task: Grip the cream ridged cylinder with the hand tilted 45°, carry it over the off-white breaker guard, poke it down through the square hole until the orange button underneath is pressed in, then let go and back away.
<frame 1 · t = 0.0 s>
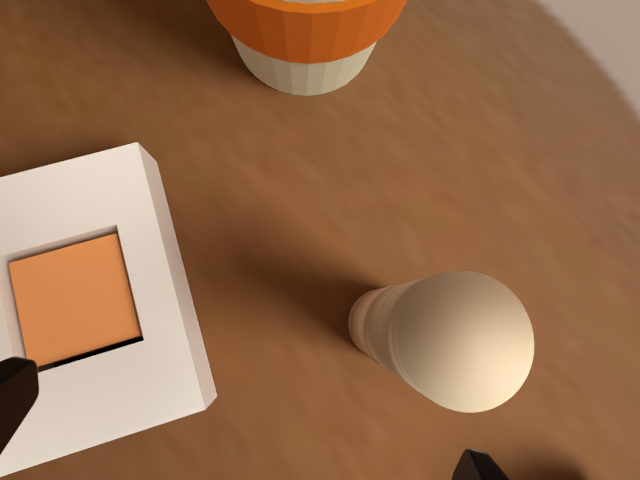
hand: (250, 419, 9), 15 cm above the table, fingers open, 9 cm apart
reusable coffee cup: (304, 33, 27), on the table
cream ridged cylinder: (382, 323, 24), on the table
breaker guard: (97, 300, 23), on the table
breaker button: (81, 299, 21), point 2 cm above the table, slide at 0.0 cm
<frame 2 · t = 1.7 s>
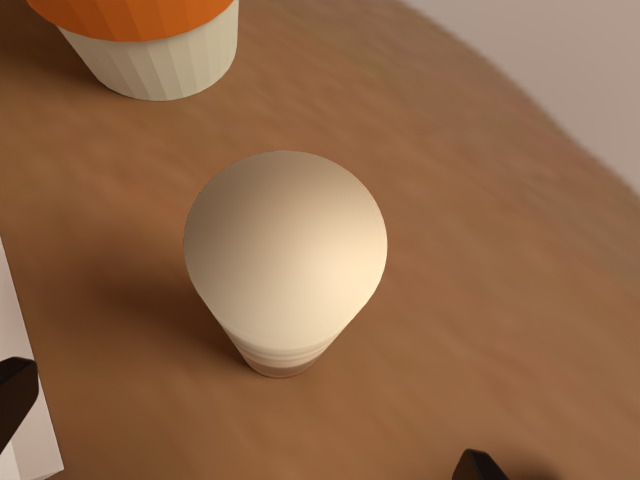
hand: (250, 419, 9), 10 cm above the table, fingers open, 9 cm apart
reusable coffee cup: (162, 44, 25), on the table
cream ridged cylinder: (281, 333, 19), on the table
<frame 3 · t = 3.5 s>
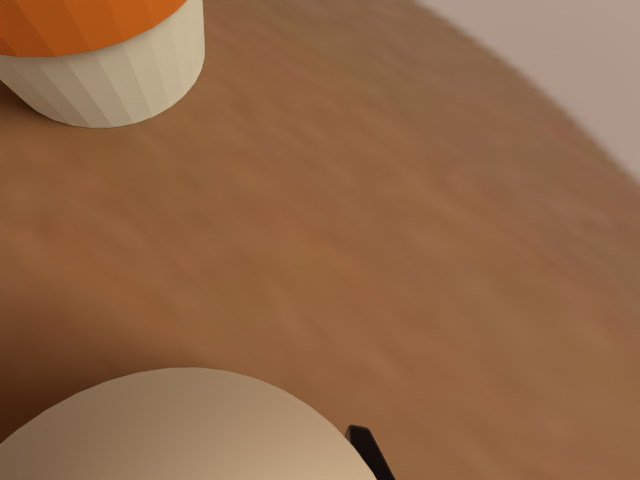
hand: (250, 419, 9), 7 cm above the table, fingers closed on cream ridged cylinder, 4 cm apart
reusable coffee cup: (111, 53, 20), on the table
cream ridged cylinder: (252, 454, 14), on the table, touching gripper
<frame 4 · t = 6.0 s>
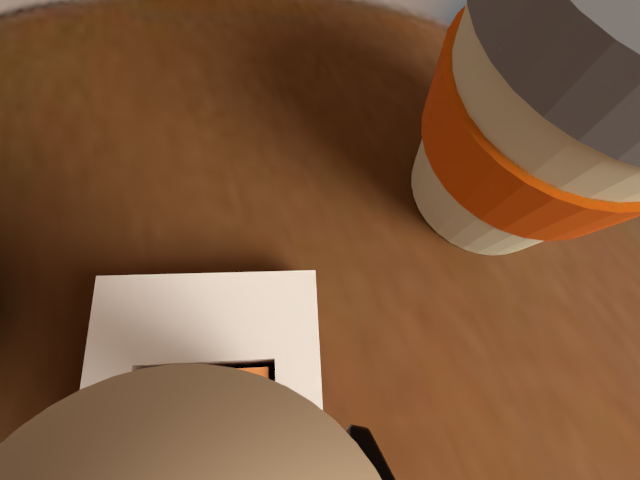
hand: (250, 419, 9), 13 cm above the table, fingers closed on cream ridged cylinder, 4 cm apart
reusable coffee cup: (479, 189, 26), on the table
cream ridged cylinder: (253, 453, 14), point 6 cm above the table, touching gripper
breaker guard: (212, 433, 20), on the table
breaker button: (206, 436, 18), point 2 cm above the table, slide at 0.0 cm
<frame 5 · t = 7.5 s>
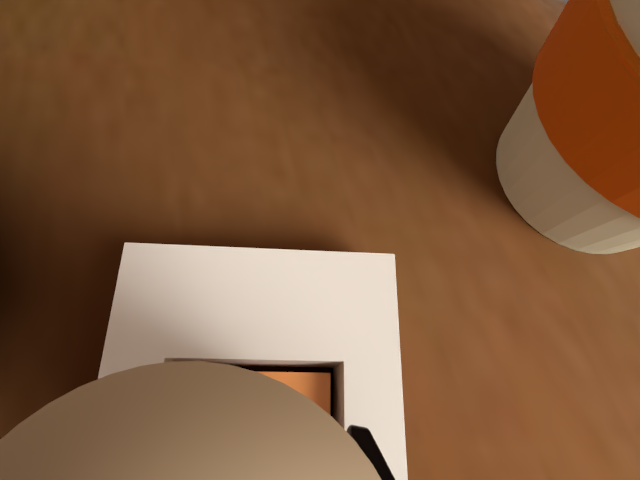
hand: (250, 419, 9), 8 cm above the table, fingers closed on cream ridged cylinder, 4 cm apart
reusable coffee cup: (575, 176, 22), on the table
cream ridged cylinder: (252, 454, 14), point 2 cm above the table, touching breaker button, gripper
breaker guard: (254, 448, 16), on the table
breaker button: (253, 451, 15), point 1 cm above the table, slide at 0.9 cm, touching cream ridged cylinder
when the fingers open (8 cm above the table, at t = 8.5 s): cream ridged cylinder stays where it is, resting on breaker button.
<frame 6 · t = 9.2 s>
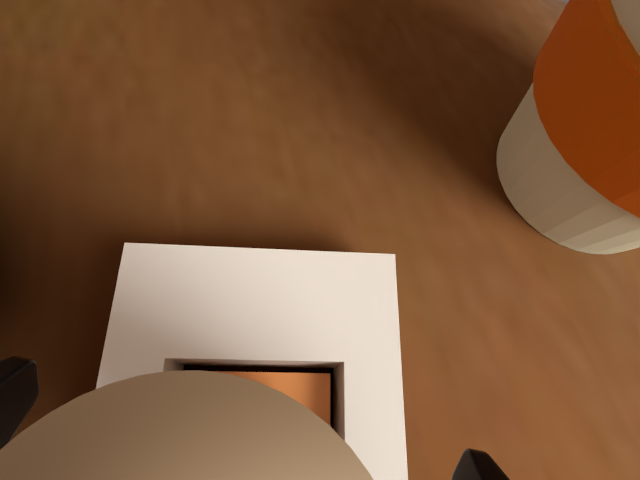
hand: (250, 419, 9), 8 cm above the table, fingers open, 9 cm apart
reusable coffee cup: (575, 176, 22), on the table
cream ridged cylinder: (252, 454, 14), point 1 cm above the table, touching breaker button
breaker guard: (254, 449, 16), on the table
breaker button: (253, 451, 15), point 1 cm above the table, slide at 1.0 cm, touching cream ridged cylinder
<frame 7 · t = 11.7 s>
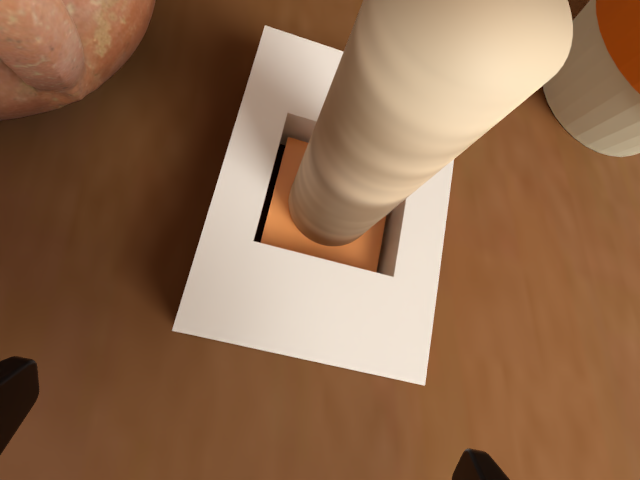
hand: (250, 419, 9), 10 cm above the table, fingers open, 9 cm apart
reusable coffee cup: (599, 94, 27), on the table
cream ridged cylinder: (331, 204, 19), point 1 cm above the table, touching breaker button
breaker guard: (324, 213, 20), on the table
ceramic jug: (14, 23, 20), on the table
breaker button: (327, 209, 20), point 1 cm above the table, slide at 1.0 cm, touching cream ridged cylinder
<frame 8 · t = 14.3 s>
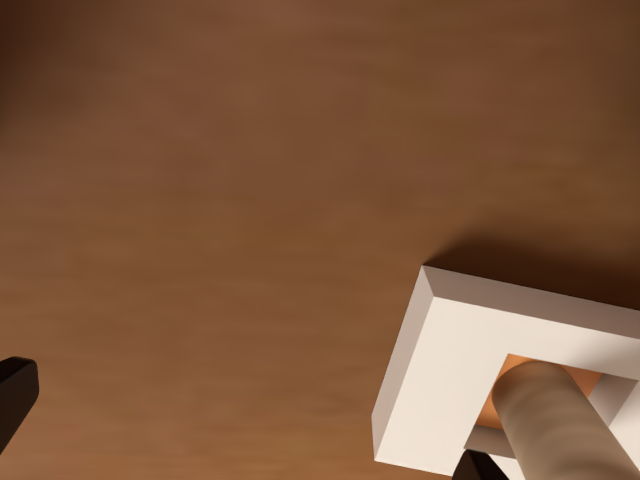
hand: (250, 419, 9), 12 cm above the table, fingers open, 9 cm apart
cream ridged cylinder: (532, 393, 21), point 1 cm above the table, touching breaker button
breaker guard: (521, 372, 22), on the table
breaker button: (526, 382, 21), point 1 cm above the table, slide at 1.0 cm, touching cream ridged cylinder
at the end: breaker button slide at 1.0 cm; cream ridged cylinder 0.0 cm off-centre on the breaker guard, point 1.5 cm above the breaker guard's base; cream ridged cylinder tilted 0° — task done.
